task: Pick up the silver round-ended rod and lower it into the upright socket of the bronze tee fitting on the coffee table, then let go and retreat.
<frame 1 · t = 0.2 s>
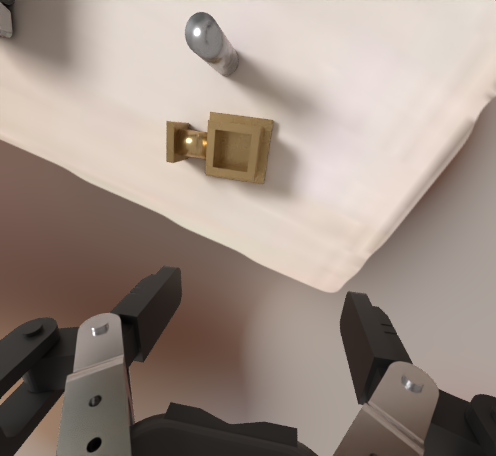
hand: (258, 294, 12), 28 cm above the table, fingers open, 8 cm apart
silver round-ended rod: (225, 60, 33), on the table
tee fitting: (238, 148, 37), on the table
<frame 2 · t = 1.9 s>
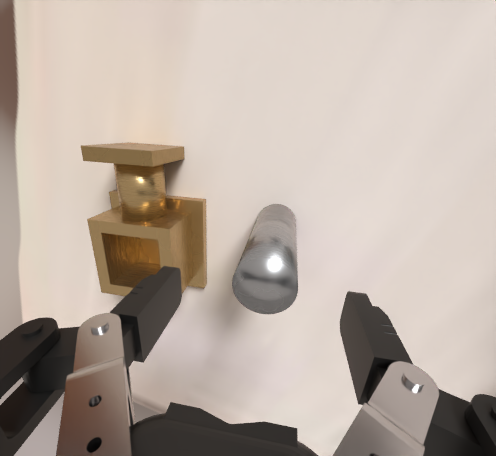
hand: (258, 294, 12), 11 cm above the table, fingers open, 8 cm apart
silver round-ended rod: (276, 222, 22), on the table
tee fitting: (162, 238, 25), on the table
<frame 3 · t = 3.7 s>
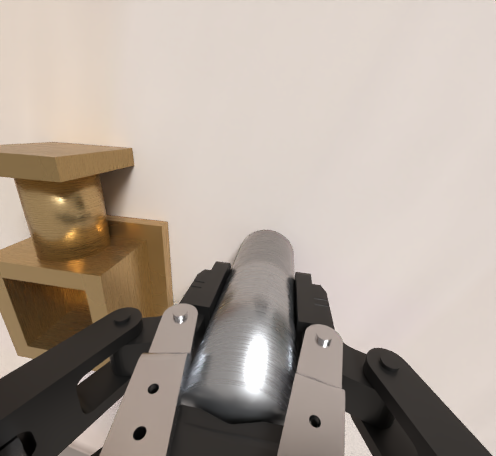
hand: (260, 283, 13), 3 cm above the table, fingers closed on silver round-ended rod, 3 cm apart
silver round-ended rod: (266, 254, 16), on the table, touching gripper
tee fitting: (113, 272, 18), on the table
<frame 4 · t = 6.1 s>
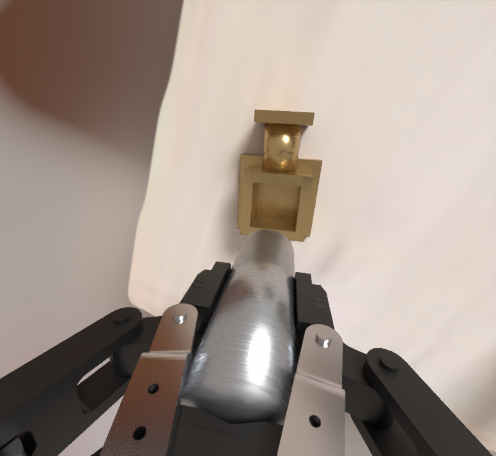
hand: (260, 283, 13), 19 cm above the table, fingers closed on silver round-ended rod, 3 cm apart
silver round-ended rod: (266, 254, 16), point 15 cm above the table, touching gripper
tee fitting: (276, 195, 30), on the table
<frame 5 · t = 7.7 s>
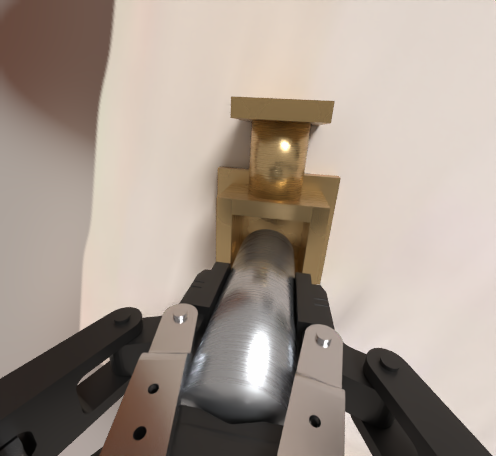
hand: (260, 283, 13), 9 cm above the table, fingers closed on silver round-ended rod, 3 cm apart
silver round-ended rod: (266, 254, 16), point 5 cm above the table, touching gripper
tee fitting: (272, 226, 21), on the table
when the fingers open (7 cm above the table, at t = 8.9 s): silver round-ended rod drops 3 cm, resting on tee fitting.
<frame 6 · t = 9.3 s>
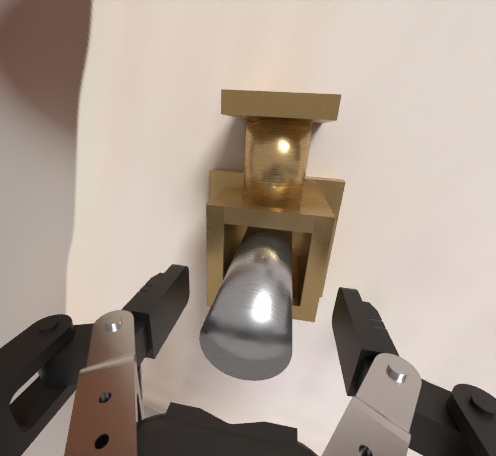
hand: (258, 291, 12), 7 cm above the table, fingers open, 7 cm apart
silver round-ended rod: (268, 237, 18), point 1 cm above the table, touching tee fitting
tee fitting: (270, 233, 19), on the table
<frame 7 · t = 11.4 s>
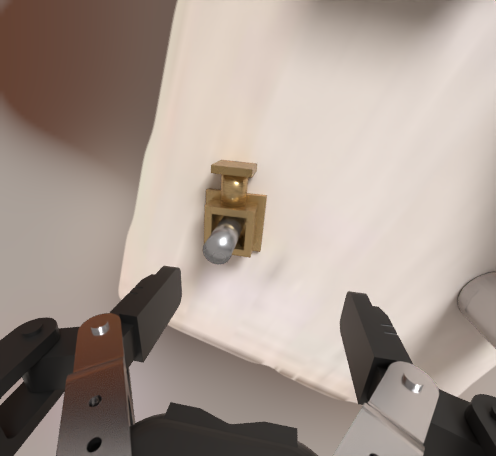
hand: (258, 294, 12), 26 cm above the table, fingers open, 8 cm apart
silver round-ended rod: (233, 221, 38), point 1 cm above the table, touching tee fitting
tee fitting: (235, 219, 39), on the table
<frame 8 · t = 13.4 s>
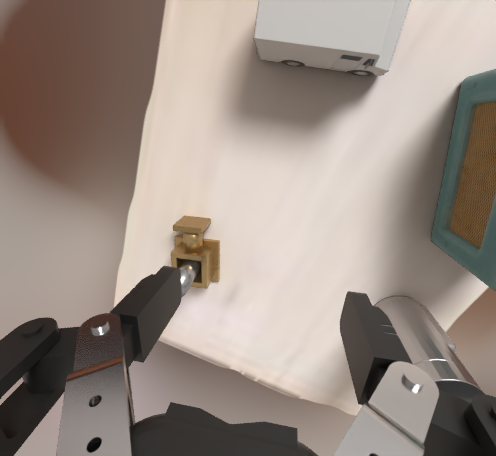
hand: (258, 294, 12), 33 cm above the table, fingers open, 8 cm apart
silver round-ended rod: (196, 259, 50), point 1 cm above the table, touching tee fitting
toy vehicle: (324, 38, 35), on the table
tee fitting: (198, 258, 51), on the table
radio: (479, 166, 38), on the table
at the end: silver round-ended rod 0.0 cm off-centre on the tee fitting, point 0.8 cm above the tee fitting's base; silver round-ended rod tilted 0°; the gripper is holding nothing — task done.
